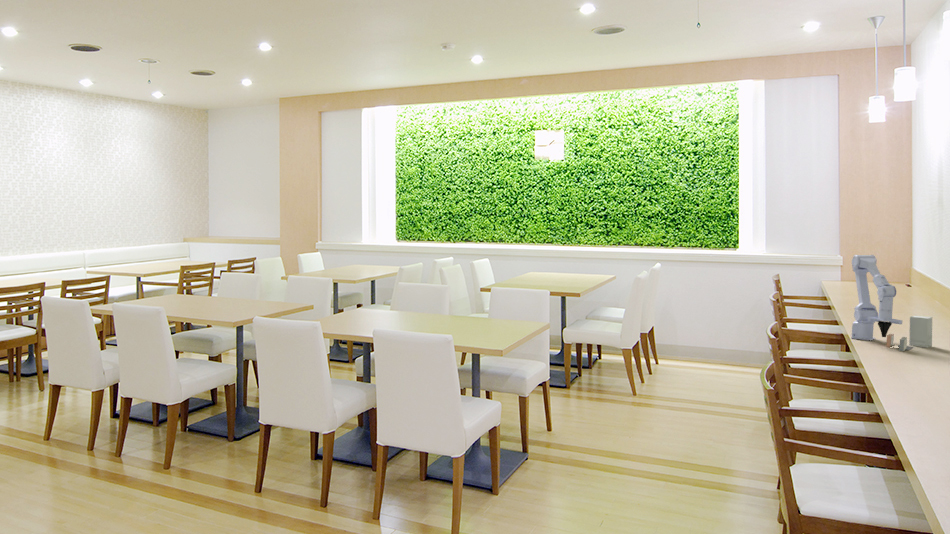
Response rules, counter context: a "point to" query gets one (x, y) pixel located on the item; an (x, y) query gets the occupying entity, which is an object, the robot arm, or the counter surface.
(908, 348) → the rubber mat
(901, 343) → the slate tile
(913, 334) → the skincare box
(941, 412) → the counter surface
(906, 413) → the counter surface
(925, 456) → the counter surface
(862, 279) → the robot arm
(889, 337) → the terracotta tile
